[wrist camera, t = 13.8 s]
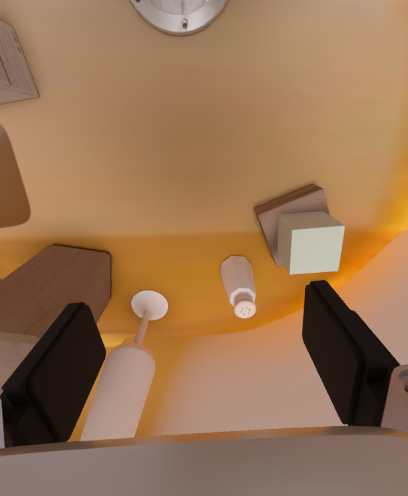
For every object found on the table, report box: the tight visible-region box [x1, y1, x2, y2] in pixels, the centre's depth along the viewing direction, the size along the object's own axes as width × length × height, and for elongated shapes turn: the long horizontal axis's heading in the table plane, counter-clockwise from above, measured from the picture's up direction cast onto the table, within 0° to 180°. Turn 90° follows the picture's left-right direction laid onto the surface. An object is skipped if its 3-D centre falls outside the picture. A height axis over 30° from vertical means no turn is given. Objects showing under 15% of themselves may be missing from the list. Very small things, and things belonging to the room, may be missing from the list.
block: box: [0, 245, 111, 395], centre depth 34 cm, size 10×10×20 cm
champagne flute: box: [80, 290, 168, 441], centre depth 35 cm, size 7×7×24 cm
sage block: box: [277, 211, 345, 274], centre depth 33 cm, size 6×6×6 cm
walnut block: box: [254, 184, 329, 267], centre depth 37 cm, size 9×9×4 cm
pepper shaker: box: [221, 256, 256, 318], centre depth 37 cm, size 5×5×11 cm
